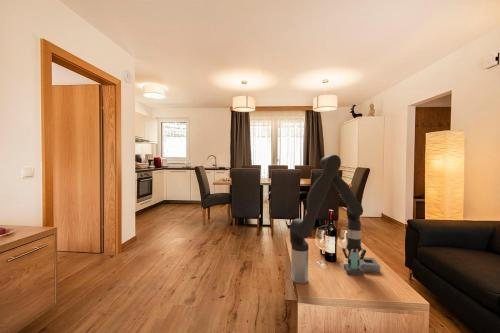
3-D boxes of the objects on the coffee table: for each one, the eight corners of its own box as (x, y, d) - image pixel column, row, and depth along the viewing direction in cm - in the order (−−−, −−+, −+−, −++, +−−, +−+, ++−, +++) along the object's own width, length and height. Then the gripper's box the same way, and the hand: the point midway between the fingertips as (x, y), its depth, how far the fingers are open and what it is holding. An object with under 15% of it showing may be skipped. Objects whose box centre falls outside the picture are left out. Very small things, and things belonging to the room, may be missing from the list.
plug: (357, 273, 142) (357, 252, 141) (350, 272, 142) (351, 252, 142) (355, 270, 145) (356, 250, 145) (349, 269, 146) (349, 250, 146)
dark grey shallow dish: (363, 275, 138) (363, 271, 138) (347, 274, 140) (347, 270, 140) (359, 269, 147) (359, 265, 147) (344, 267, 149) (344, 263, 149)
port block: (379, 273, 142) (380, 265, 142) (361, 271, 144) (362, 263, 144) (373, 265, 154) (373, 257, 154) (356, 263, 156) (357, 255, 156)
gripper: (342, 237, 141) (342, 266, 141) (368, 239, 138) (368, 269, 139) (340, 234, 148) (340, 261, 149) (365, 235, 146) (364, 263, 146)
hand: (353, 265), depth 144 cm, fingers closed on plug, 3 cm apart
